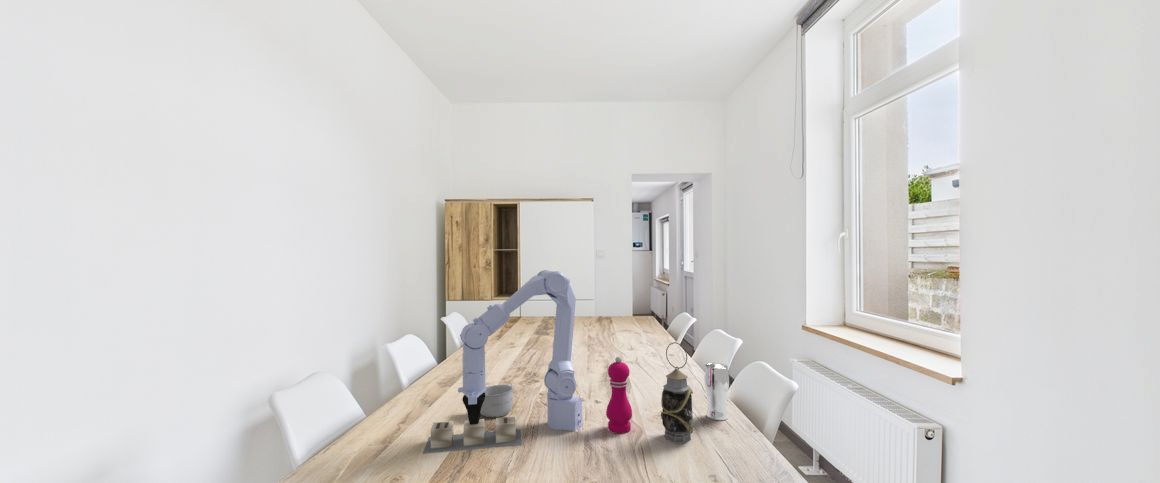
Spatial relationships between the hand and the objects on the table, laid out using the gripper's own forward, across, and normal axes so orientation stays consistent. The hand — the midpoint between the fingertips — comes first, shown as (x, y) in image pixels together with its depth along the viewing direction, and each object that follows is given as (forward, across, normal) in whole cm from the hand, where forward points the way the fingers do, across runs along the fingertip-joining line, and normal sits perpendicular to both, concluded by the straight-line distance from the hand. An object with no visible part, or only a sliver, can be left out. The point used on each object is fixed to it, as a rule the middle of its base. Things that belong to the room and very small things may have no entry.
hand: (474, 423), depth 117 cm
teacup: (+5, -21, +6) cm, 22 cm away
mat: (+5, 0, 0) cm, 5 cm away
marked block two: (+4, 0, -8) cm, 9 cm away
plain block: (+4, 0, 0) cm, 4 cm away
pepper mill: (+5, -2, +39) cm, 39 cm away
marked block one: (+4, 0, +8) cm, 9 cm away
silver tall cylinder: (+5, -5, +70) cm, 70 cm away
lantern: (+5, +7, +52) cm, 53 cm away
